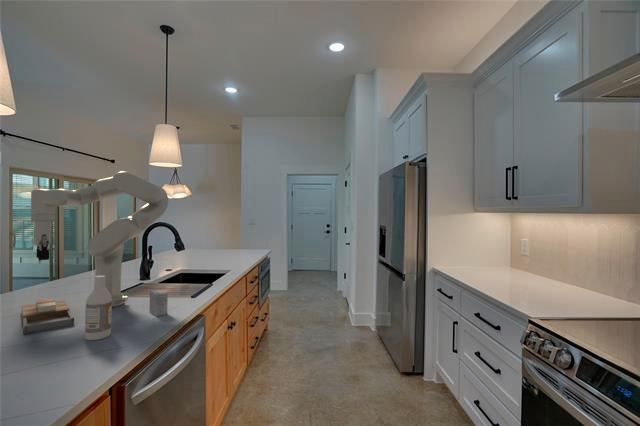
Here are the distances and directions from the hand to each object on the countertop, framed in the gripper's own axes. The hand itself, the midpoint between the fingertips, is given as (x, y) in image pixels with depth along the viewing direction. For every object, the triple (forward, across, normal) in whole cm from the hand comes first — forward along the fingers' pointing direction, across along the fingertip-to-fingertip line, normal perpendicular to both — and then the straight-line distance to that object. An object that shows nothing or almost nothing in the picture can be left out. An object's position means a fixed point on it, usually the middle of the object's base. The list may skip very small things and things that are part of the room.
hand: (42, 258), depth 128 cm
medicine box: (+22, +39, +32) cm, 56 cm away
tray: (+21, +27, 0) cm, 35 cm away
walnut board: (+21, +13, 0) cm, 25 cm away
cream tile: (+18, +17, 0) cm, 25 cm away
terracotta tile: (+18, +10, 0) cm, 21 cm away
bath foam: (+22, +52, +10) cm, 57 cm away
